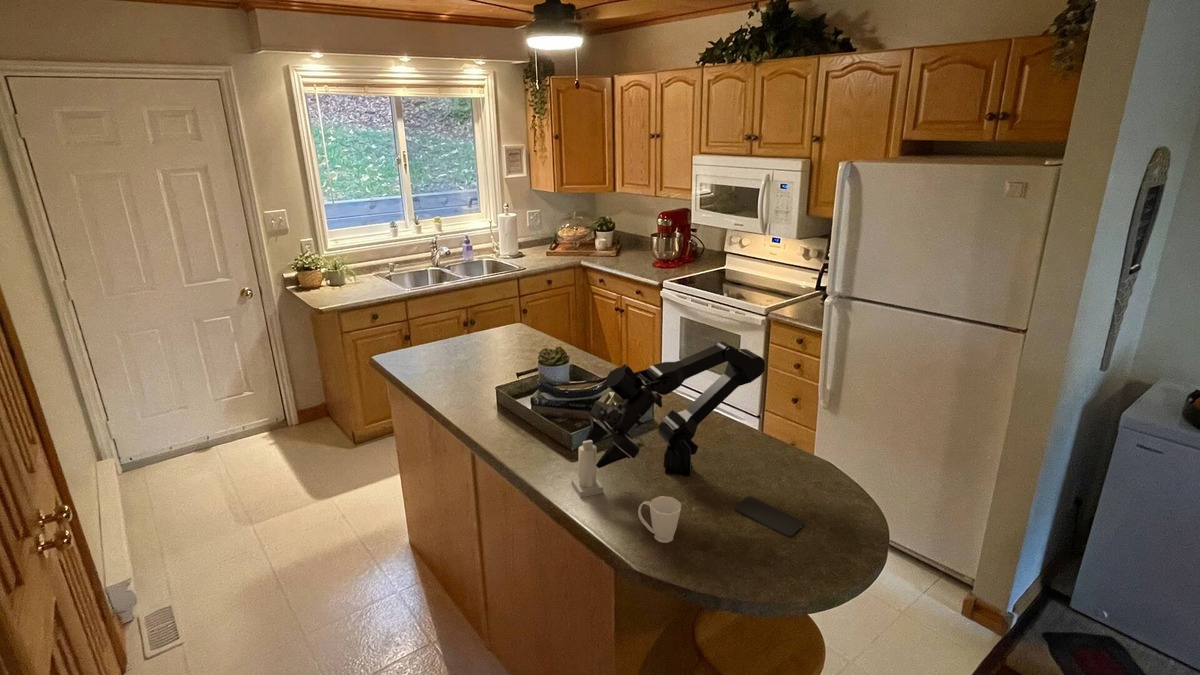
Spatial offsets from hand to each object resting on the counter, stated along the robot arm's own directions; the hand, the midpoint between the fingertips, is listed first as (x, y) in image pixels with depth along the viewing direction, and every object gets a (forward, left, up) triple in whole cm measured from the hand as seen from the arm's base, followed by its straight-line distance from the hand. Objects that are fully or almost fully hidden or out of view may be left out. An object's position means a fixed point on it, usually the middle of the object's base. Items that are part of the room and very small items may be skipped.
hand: (590, 457), depth 152 cm
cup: (-18, +14, -9) cm, 25 cm away
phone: (-42, +2, -9) cm, 43 cm away
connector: (+1, 0, -8) cm, 9 cm away
